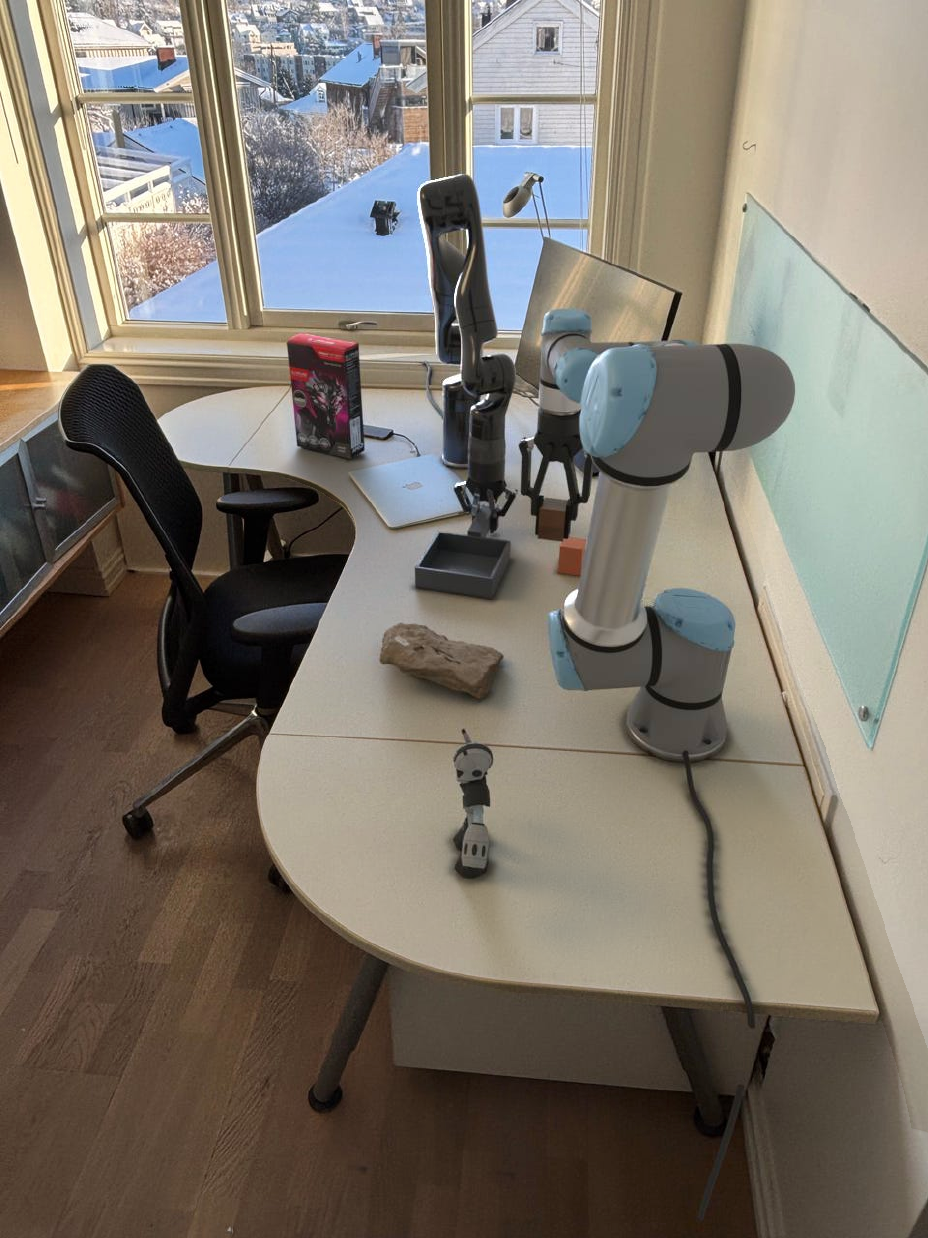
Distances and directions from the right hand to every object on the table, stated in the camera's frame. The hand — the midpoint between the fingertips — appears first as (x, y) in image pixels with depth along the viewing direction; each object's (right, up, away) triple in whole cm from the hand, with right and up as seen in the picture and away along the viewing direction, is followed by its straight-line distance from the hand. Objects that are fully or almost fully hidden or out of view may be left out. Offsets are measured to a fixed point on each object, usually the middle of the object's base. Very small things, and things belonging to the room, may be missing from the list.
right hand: (552, 533), depth 164 cm
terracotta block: (+5, -5, +19) cm, 21 cm away
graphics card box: (-49, +27, +67) cm, 87 cm away
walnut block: (0, 0, 0) cm, 0 cm away
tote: (-14, -3, +22) cm, 27 cm away
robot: (-15, -47, -42) cm, 65 cm away
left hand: (-11, +3, +30) cm, 33 cm away
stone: (-21, -24, -9) cm, 33 cm away
